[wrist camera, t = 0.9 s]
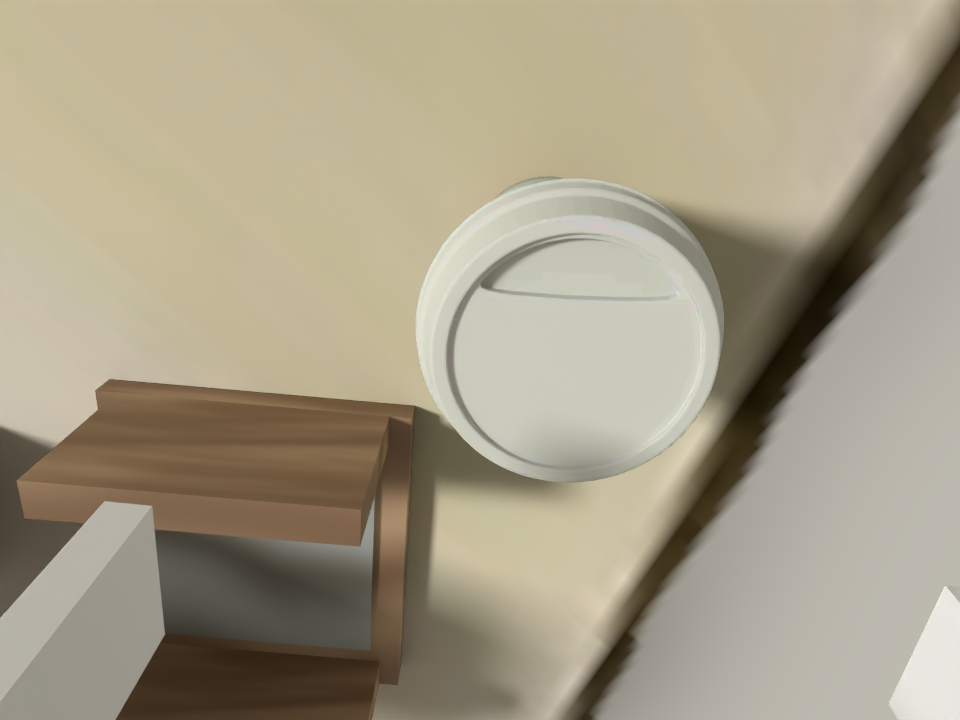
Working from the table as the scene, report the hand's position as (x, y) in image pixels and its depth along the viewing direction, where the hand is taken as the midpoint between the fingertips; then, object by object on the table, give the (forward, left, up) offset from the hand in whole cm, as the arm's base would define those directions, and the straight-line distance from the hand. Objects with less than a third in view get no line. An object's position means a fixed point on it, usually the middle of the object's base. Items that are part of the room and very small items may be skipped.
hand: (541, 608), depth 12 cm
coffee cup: (-2, +1, -19) cm, 19 cm away
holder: (+14, -11, -19) cm, 26 cm away
